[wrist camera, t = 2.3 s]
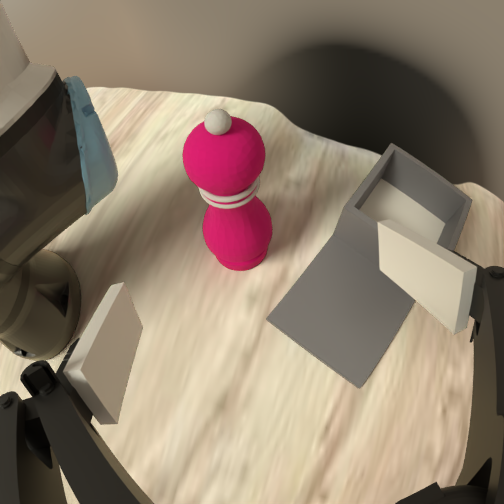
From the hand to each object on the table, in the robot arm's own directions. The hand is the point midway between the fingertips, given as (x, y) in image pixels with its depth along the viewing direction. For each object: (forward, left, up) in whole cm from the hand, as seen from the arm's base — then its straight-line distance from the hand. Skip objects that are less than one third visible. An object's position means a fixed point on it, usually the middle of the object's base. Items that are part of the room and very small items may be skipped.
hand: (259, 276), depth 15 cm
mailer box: (+5, +14, -19) cm, 24 cm away
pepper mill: (-9, +6, -19) cm, 22 cm away
